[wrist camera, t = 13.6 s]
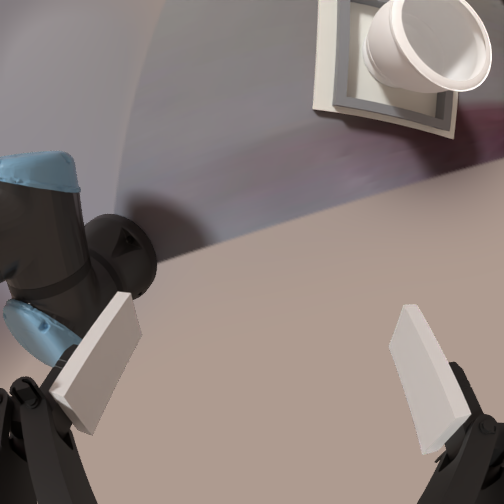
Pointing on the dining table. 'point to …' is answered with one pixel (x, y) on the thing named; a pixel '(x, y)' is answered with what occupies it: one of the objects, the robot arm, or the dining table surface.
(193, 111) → the dining table surface
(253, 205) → the dining table surface
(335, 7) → the socket board
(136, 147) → the dining table surface
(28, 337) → the robot arm
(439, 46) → the jar
